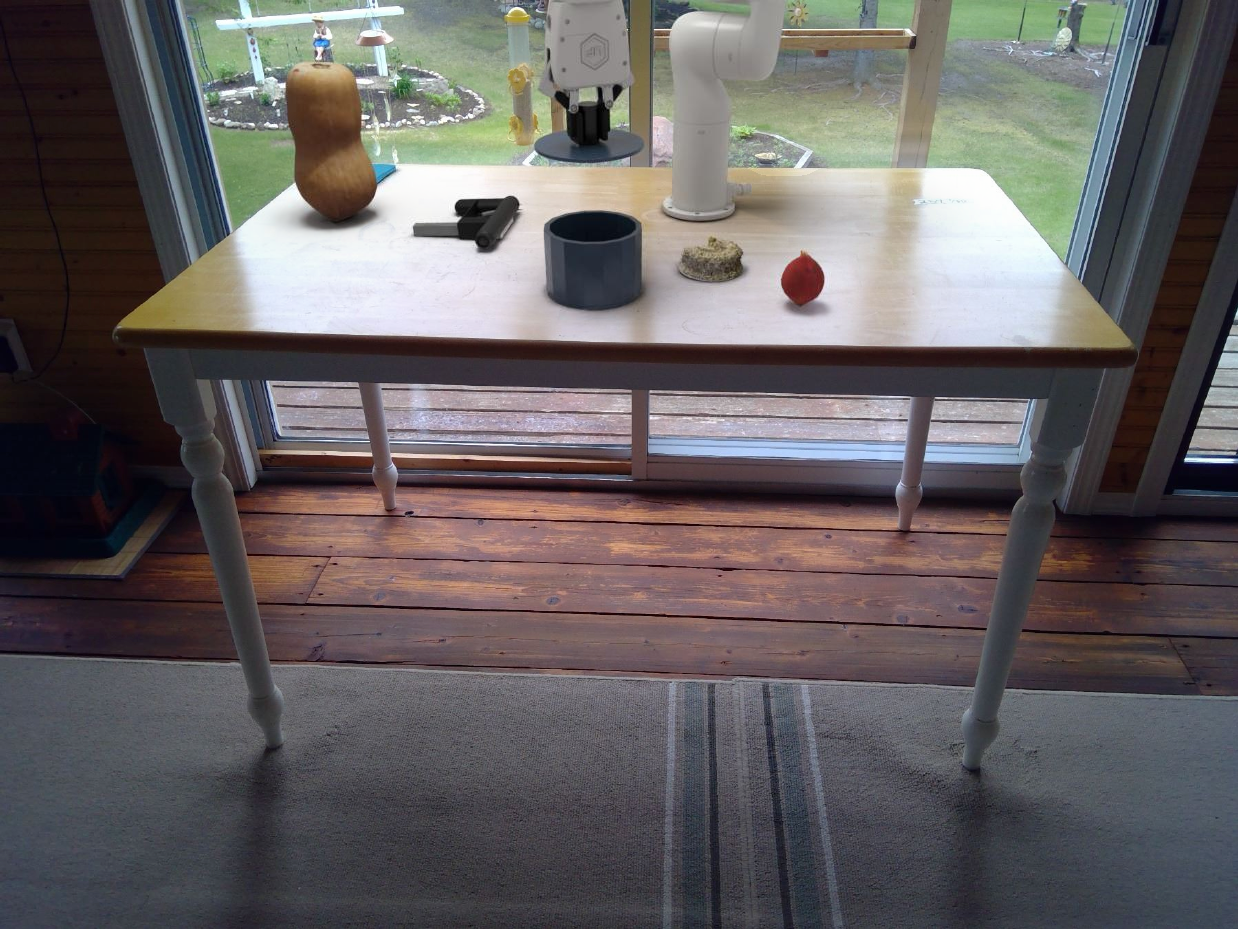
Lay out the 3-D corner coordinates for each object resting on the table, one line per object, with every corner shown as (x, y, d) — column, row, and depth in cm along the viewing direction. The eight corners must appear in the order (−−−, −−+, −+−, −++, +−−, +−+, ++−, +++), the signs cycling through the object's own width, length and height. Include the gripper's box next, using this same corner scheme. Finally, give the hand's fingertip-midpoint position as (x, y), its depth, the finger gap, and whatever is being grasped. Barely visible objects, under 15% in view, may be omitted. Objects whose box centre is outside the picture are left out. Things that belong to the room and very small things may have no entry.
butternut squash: (393, 219, 162) (370, 64, 148) (317, 236, 155) (286, 75, 142) (362, 199, 171) (338, 51, 157) (290, 213, 165) (258, 61, 151)
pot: (618, 266, 143) (618, 205, 138) (657, 299, 133) (658, 234, 128) (534, 281, 139) (530, 218, 133) (567, 316, 128) (564, 249, 123)
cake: (756, 270, 143) (760, 237, 139) (716, 291, 137) (720, 257, 133) (704, 250, 148) (707, 217, 144) (663, 269, 142) (666, 236, 138)
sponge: (341, 181, 177) (369, 179, 176) (369, 163, 187) (395, 161, 186) (344, 189, 178) (372, 187, 177) (371, 171, 188) (397, 169, 186)
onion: (824, 300, 132) (830, 245, 128) (817, 316, 128) (824, 260, 123) (783, 295, 134) (788, 241, 129) (775, 311, 129) (780, 255, 125)
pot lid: (617, 130, 133) (616, 85, 130) (662, 158, 122) (663, 109, 119) (519, 144, 128) (516, 97, 125) (557, 173, 117) (554, 123, 114)
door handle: (399, 233, 149) (497, 232, 146) (437, 194, 165) (526, 192, 163) (403, 253, 151) (500, 252, 148) (440, 213, 167) (528, 211, 165)
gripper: (530, -6, 108) (540, 155, 119) (657, -16, 114) (656, 139, 124) (510, -14, 114) (521, 140, 125) (632, -23, 119) (633, 125, 130)
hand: (588, 138), depth 124 cm, fingers closed on pot lid, 2 cm apart
